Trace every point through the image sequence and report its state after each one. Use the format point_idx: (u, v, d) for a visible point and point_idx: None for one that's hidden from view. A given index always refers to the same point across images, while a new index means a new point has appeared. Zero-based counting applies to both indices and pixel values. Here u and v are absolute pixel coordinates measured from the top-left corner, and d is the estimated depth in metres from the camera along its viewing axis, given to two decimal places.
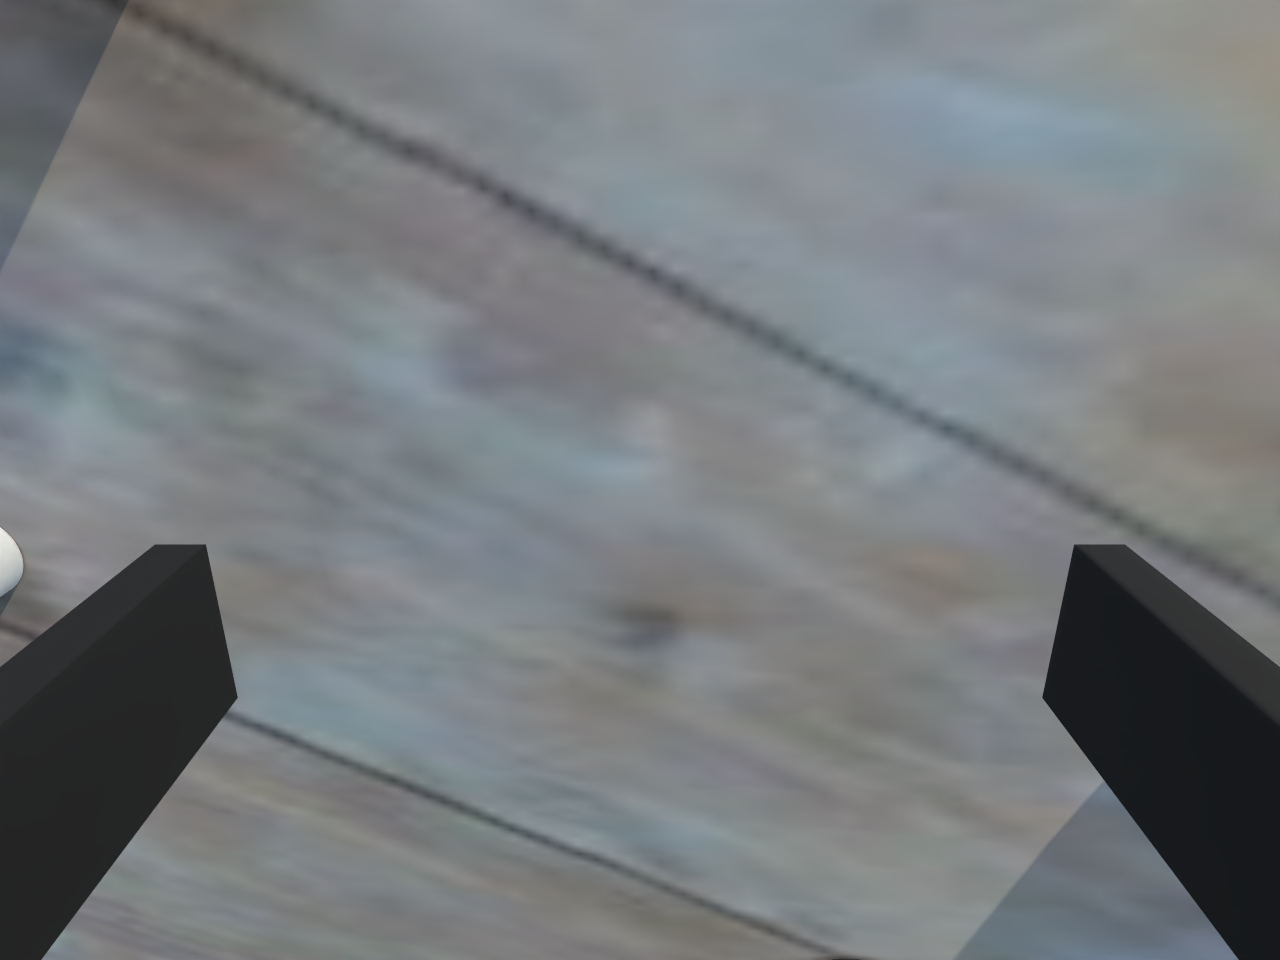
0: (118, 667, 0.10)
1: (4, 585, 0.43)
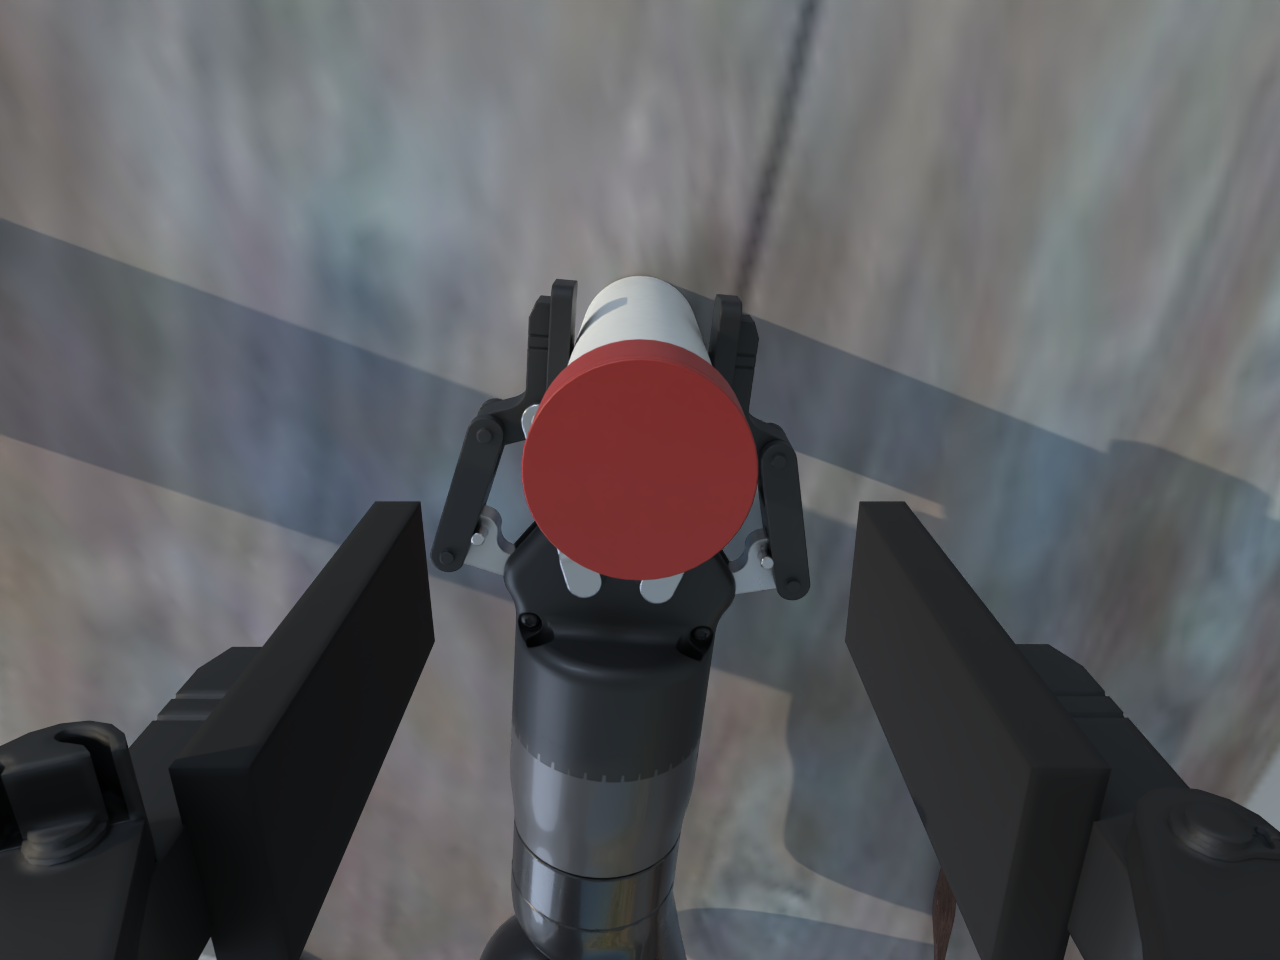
0: (382, 601, 0.12)
1: (649, 281, 0.32)
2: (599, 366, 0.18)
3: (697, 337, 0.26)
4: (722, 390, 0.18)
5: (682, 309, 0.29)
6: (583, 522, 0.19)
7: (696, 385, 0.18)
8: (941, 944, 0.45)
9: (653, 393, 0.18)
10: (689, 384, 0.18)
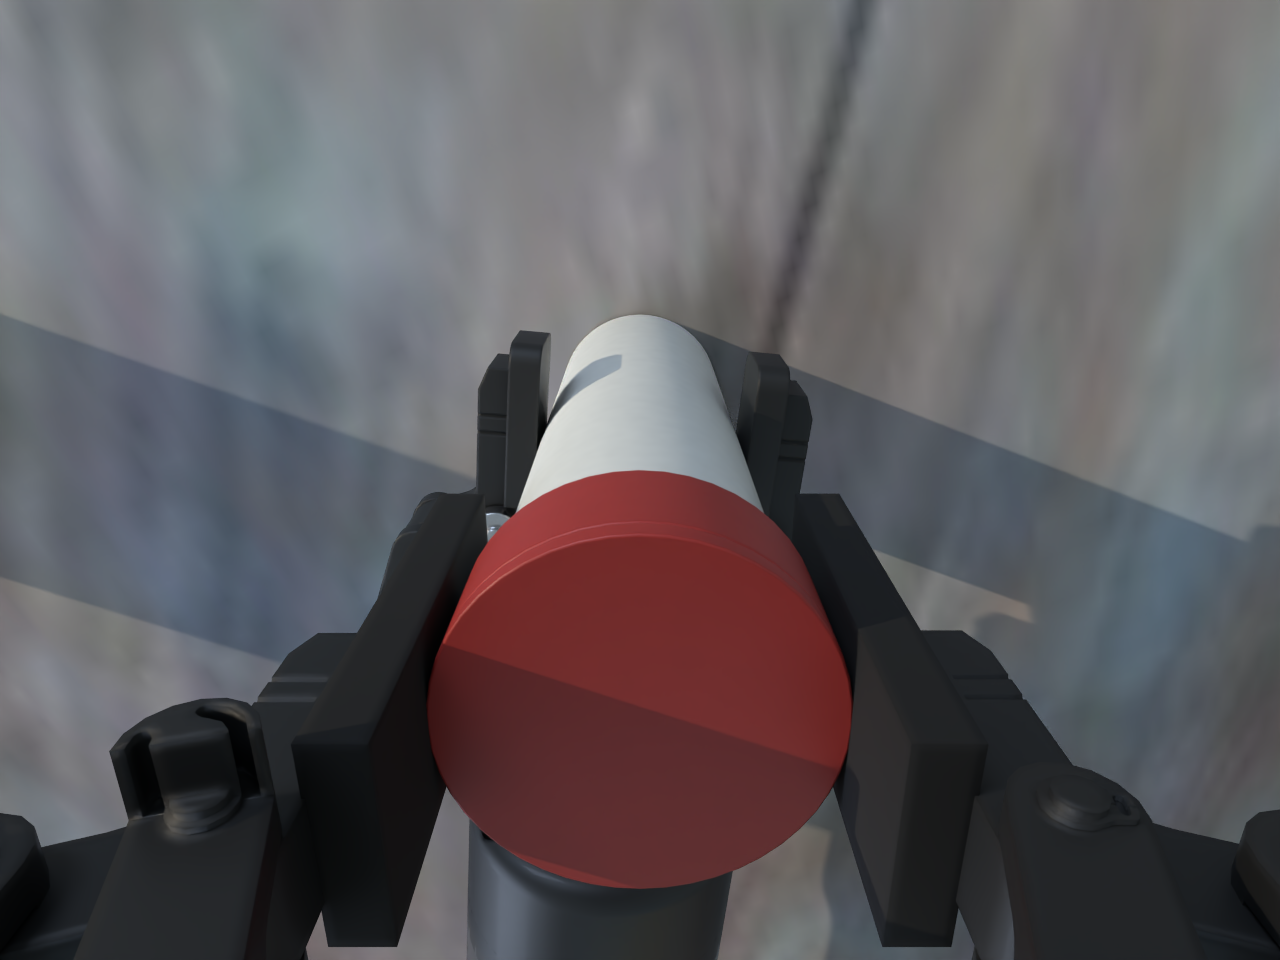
0: (458, 588, 0.12)
1: (653, 323, 0.24)
2: (563, 548, 0.10)
3: (724, 422, 0.17)
4: (793, 588, 0.10)
5: (699, 370, 0.20)
6: (539, 801, 0.11)
7: (744, 579, 0.10)
8: None
9: (665, 594, 0.10)
10: (732, 578, 0.10)
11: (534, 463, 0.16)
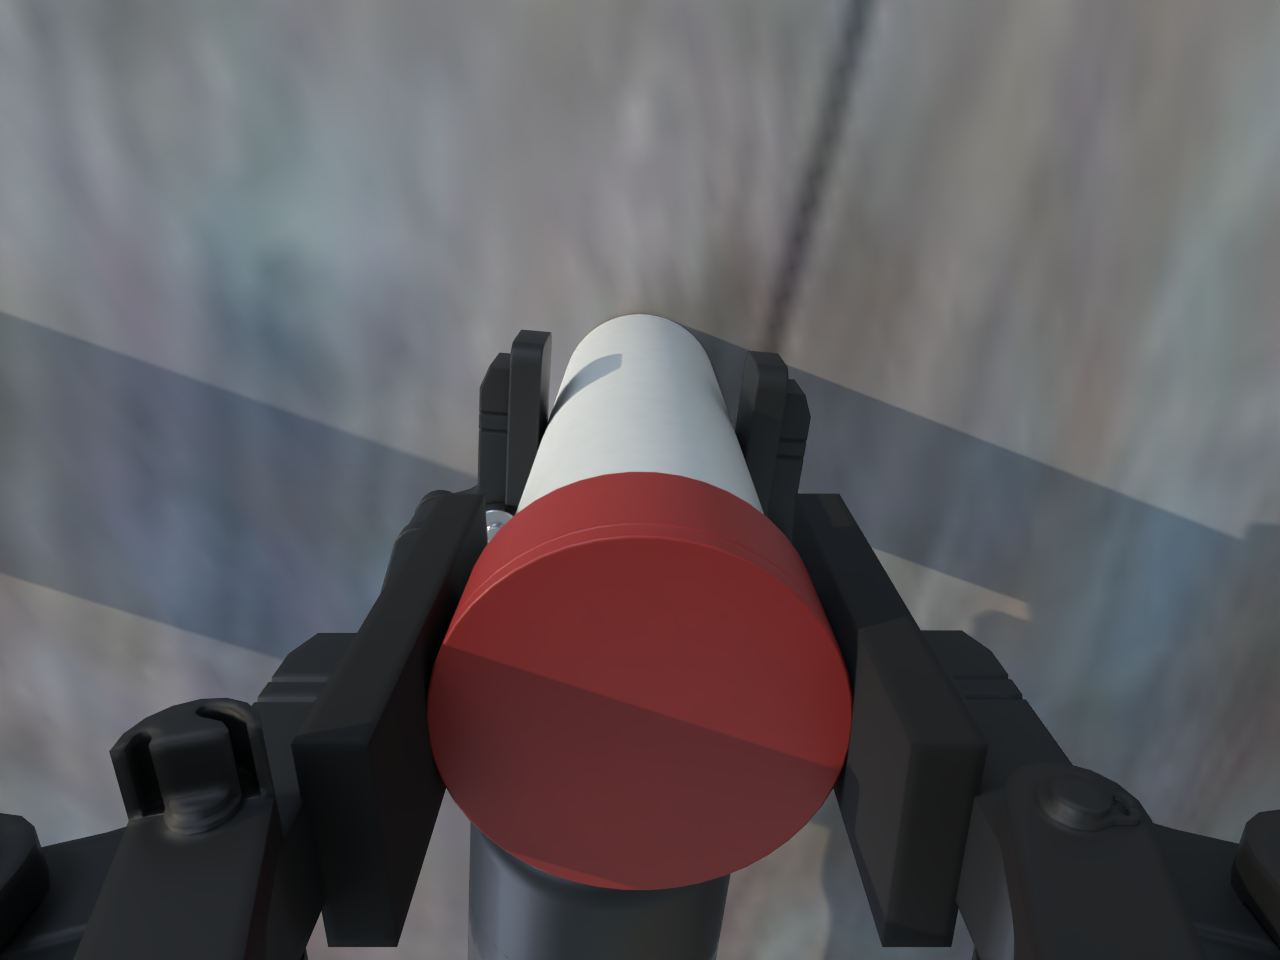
0: (457, 588, 0.12)
1: (653, 323, 0.24)
2: (431, 750, 0.11)
3: (723, 420, 0.18)
4: (507, 573, 0.10)
5: (699, 369, 0.21)
6: (704, 825, 0.11)
7: (489, 616, 0.10)
8: None
9: (491, 683, 0.10)
10: (485, 625, 0.10)
11: (535, 461, 0.16)
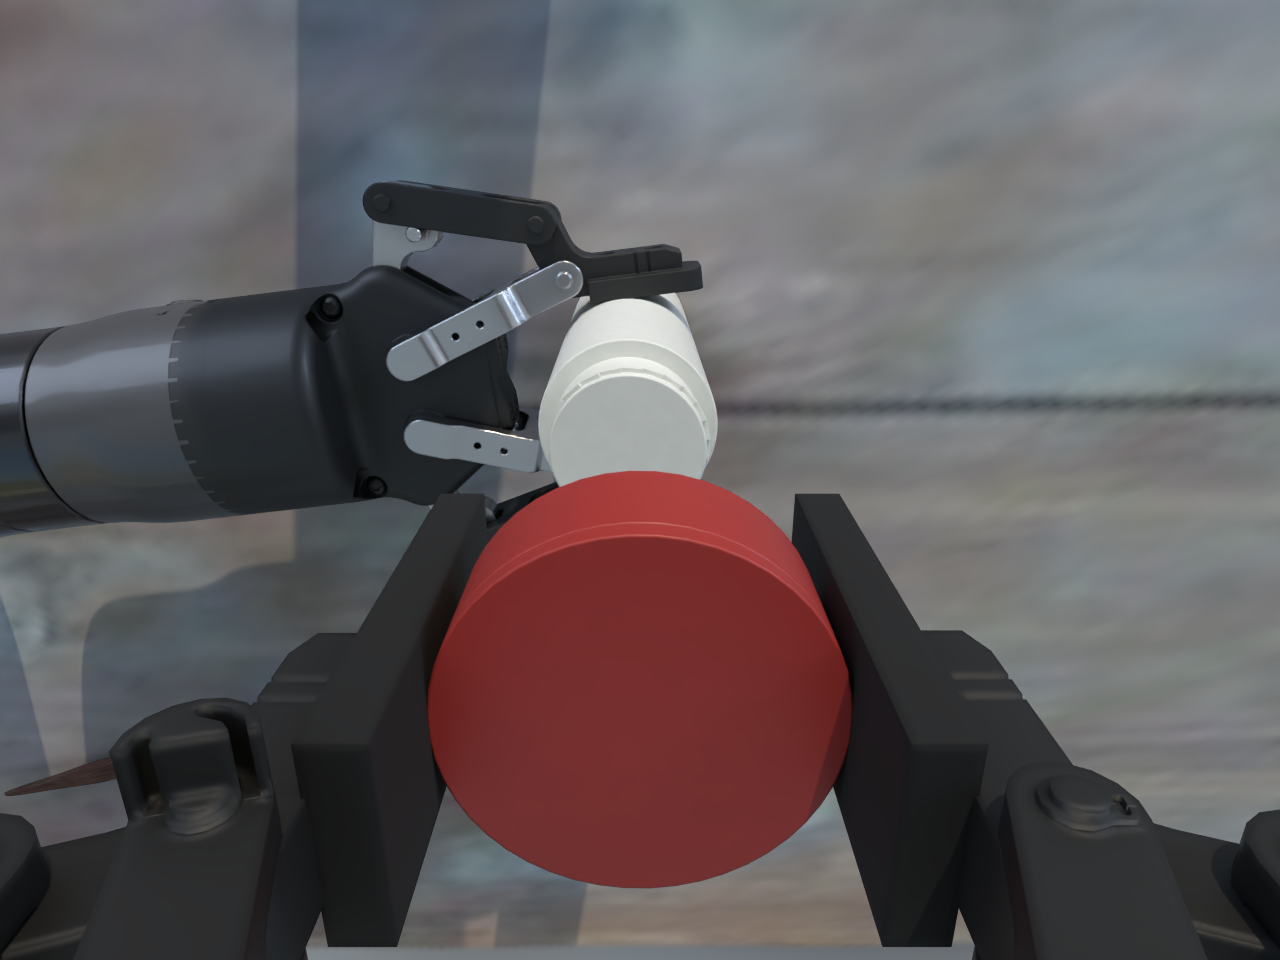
0: (458, 589, 0.12)
1: None
2: (432, 749, 0.11)
3: None
4: (507, 572, 0.10)
5: None
6: (704, 823, 0.11)
7: (489, 614, 0.10)
8: (59, 782, 0.42)
9: (492, 682, 0.10)
10: (486, 624, 0.10)
11: (650, 312, 0.25)
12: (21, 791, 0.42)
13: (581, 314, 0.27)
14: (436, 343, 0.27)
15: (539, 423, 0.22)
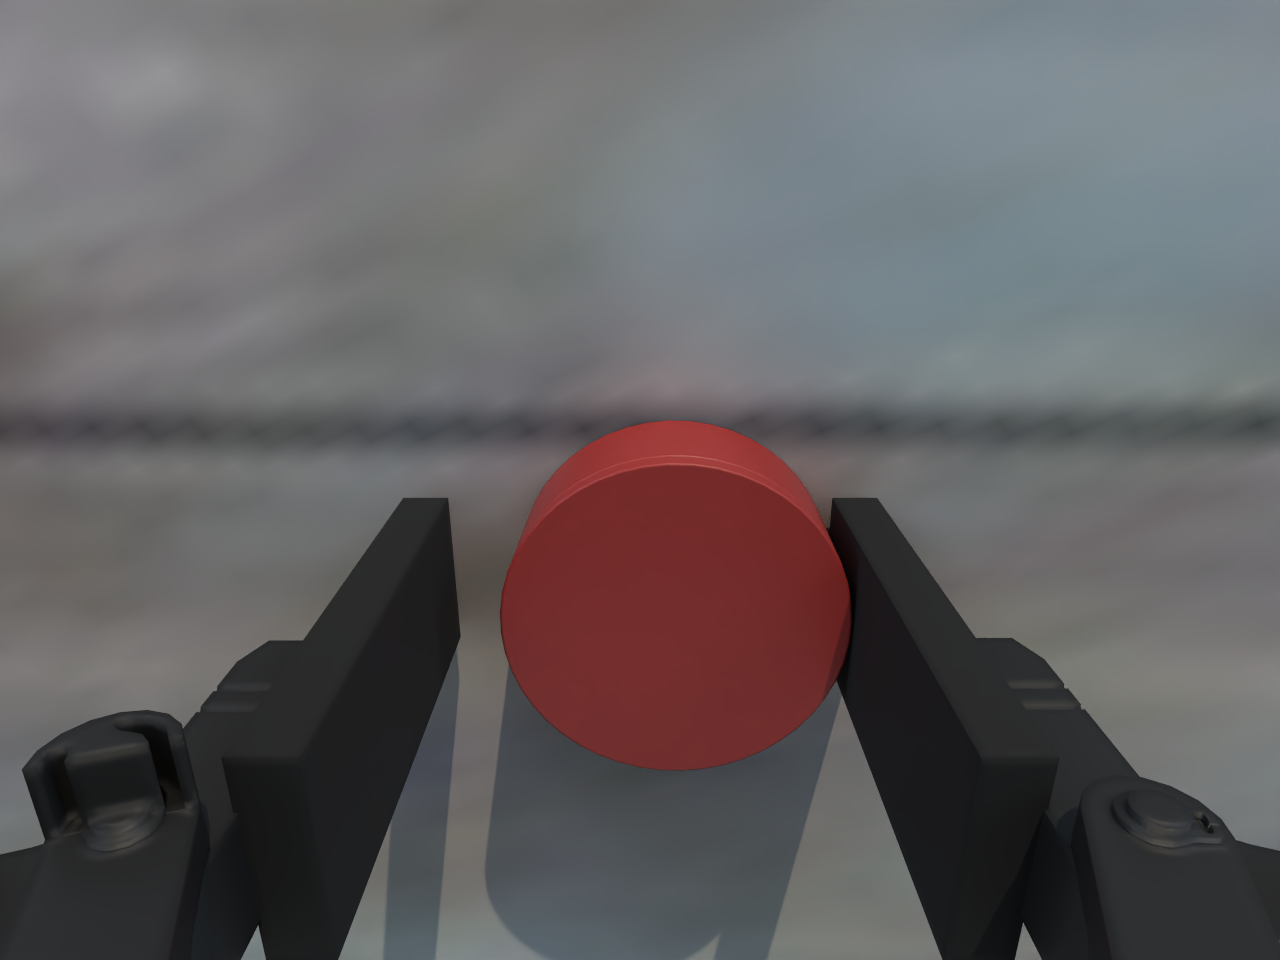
0: (415, 596, 0.12)
1: None
2: (503, 644, 0.13)
3: None
4: (570, 494, 0.12)
5: None
6: (727, 713, 0.13)
7: (554, 529, 0.12)
8: None
9: (554, 587, 0.12)
10: (551, 537, 0.12)
11: None
12: None
13: None
14: None
15: None
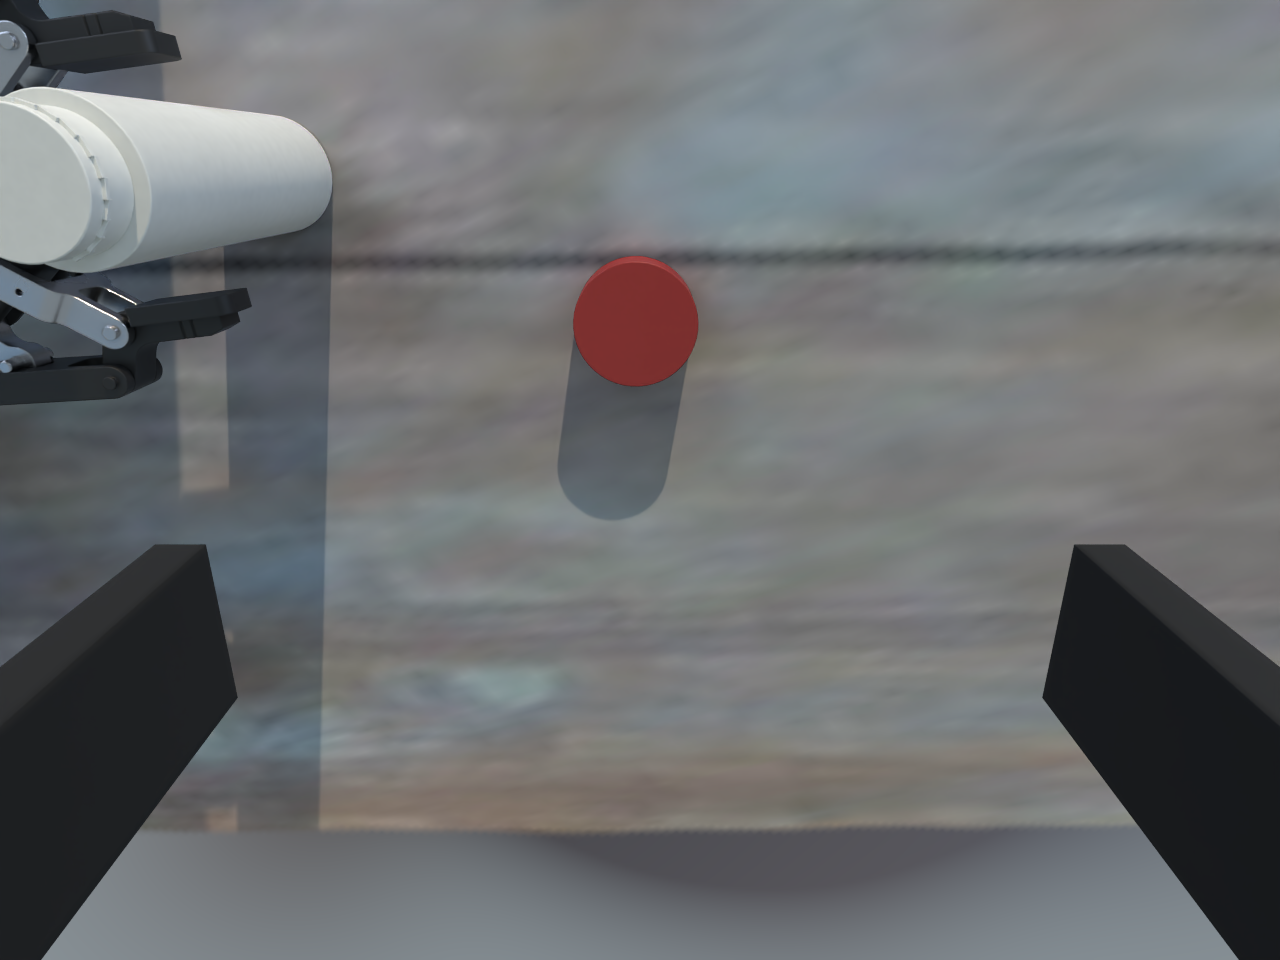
0: (118, 667, 0.10)
1: (320, 172, 0.34)
2: (574, 333, 0.36)
3: (238, 224, 0.28)
4: (598, 273, 0.35)
5: (283, 207, 0.31)
6: (655, 360, 0.36)
7: (593, 287, 0.35)
8: None
9: (593, 309, 0.35)
10: (592, 290, 0.35)
11: (157, 101, 0.25)
12: None
13: None
14: None
15: None
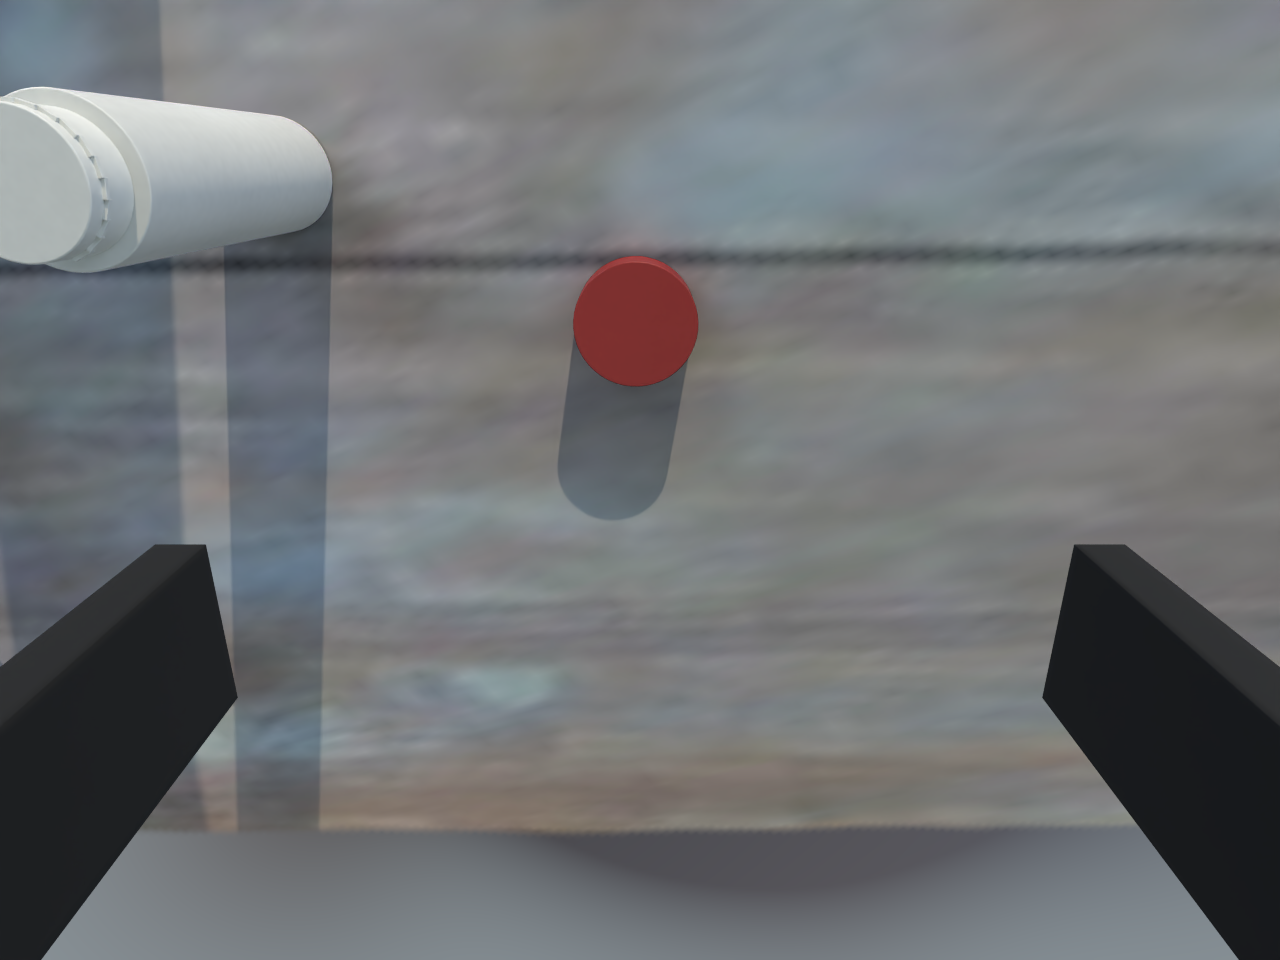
0: (118, 667, 0.10)
1: (320, 172, 0.34)
2: (574, 333, 0.36)
3: (238, 224, 0.28)
4: (598, 273, 0.35)
5: (283, 207, 0.31)
6: (655, 360, 0.36)
7: (593, 287, 0.35)
8: None
9: (593, 309, 0.35)
10: (592, 290, 0.35)
11: (157, 101, 0.25)
12: None
13: None
14: None
15: None
